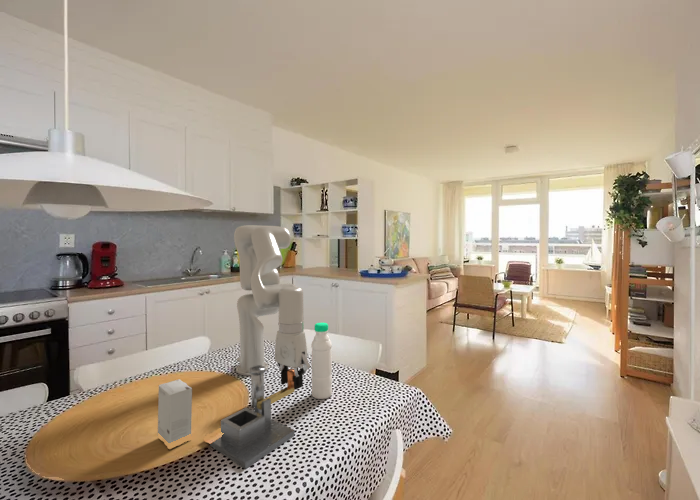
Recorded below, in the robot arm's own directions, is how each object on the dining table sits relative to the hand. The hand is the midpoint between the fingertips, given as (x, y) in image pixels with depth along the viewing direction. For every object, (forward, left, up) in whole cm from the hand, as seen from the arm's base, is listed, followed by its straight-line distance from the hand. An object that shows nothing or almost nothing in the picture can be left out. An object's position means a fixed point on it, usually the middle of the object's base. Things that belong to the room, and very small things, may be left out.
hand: (291, 384), depth 100 cm
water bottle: (0, +14, -9) cm, 17 cm away
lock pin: (0, -6, -2) cm, 6 cm away
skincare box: (-16, -28, -9) cm, 33 cm away
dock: (0, -17, -9) cm, 19 cm away
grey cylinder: (-13, -3, -9) cm, 16 cm away
